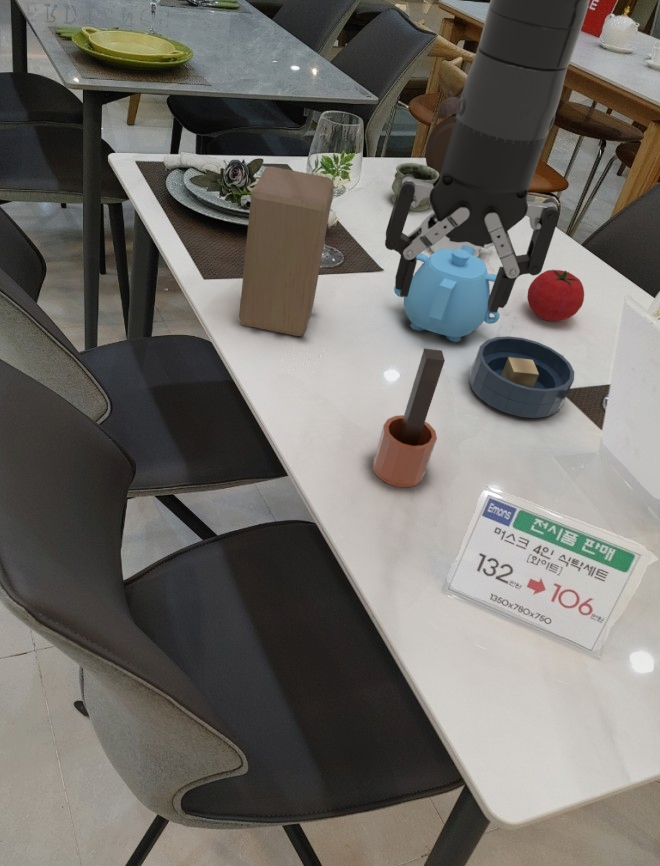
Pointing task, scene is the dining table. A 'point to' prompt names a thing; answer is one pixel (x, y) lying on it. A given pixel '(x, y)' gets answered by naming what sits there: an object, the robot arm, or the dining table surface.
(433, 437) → the holder
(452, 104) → the alarm clock
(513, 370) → the block
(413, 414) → the stick
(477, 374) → the bowl
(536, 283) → the tomato
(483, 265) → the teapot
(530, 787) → the dining table surface
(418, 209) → the vessel
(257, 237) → the wooden block
